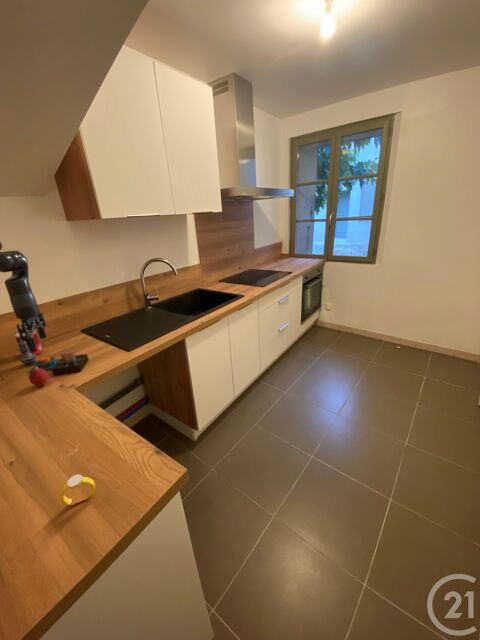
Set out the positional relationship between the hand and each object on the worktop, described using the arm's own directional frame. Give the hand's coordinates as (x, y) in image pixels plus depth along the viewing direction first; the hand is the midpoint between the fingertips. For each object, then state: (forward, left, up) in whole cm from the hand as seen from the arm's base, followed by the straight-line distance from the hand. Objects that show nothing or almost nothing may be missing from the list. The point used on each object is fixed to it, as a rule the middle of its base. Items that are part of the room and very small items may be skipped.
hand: (38, 342), depth 106 cm
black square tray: (+11, -3, -12) cm, 16 cm away
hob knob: (+11, -3, -9) cm, 14 cm away
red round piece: (+4, -14, -12) cm, 19 cm away
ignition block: (0, +1, -12) cm, 12 cm away
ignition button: (0, +1, -9) cm, 9 cm away
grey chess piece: (-9, +6, -12) cm, 16 cm away
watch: (+35, -66, -12) cm, 76 cm away
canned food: (-13, +17, -12) cm, 25 cm away
